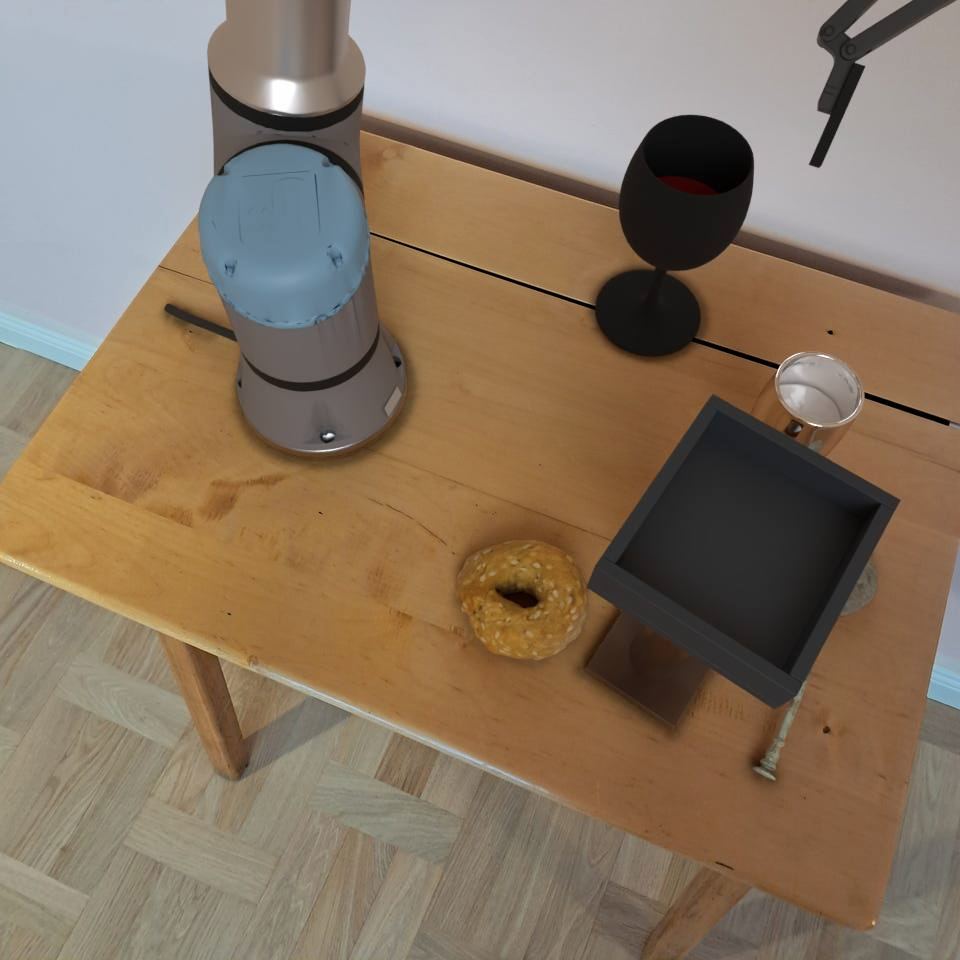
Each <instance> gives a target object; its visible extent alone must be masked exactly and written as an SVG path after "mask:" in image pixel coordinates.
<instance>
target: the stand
mask: <svg viewBox="0 0 960 960" xmlns="http://www.w3.org/2000/svg"><path fill="white" fill-rule="evenodd" d="M710 669H711V668H710V667H708V666H706V665H705V664H703V663H702V662H700V661H699V660H697V659H696V658H694V657H693V656H691V655H690V654H688V653H686V652H685V651H683V650H682V649H680V648H679V647H677V646H676V645H674V644H673V643H671V642H669V641H668V640H666V639H665V638H663V637H662V636H660V635H659V634H657V633H656V632H654V631H653V630H651V629H649V628H648V627H646V626H645V625H643V624H642V623H640V622H639V621H637V620H636V619H634V618H633V617H631V616H629V615H628V614H626V613H625V612H623V611H622V610H621V612H620V613H619V615H618V617H617V619H616V620H615V621H614V623H613V624H612V626H611V627H610V629H609V631H608V632H607V633H606V635H605V637H604V639H603V640H602V642H601V643H600V644H599V646H598V647H597V649H596V650H595V652H594V654H593V655H592V657H591V658H590V660H589V661H588V662H587V664H586V666H585V668H584V669H583V672H584V673H585V674H587V675H588V676H590V677H591V678H593V679H594V680H596V681H598V682H599V683H600V684H601V685H603V686H605V687H606V688H607V689H609V690H611V691H612V692H614V693H615V694H616V695H618V696H619V697H620V698H622V699H624V700H625V701H627V702H628V703H629V704H631V705H633V706H634V707H636V708H637V709H638V710H640V711H642V712H643V713H645V714H646V715H648V716H649V717H650V718H652V719H653V720H655V721H656V722H658V723H659V724H660V725H662V726H664V727H665V728H667V729H668V730H669V731H672V730H674V729H675V728H676V726H677V724H678V722H679V721H680V719H681V718H682V716H683V714H684V712H685V710H686V709H687V707H688V706H689V704H690V702H691V700H692V699H693V697H694V695H695V694H696V692H697V690H698V688H699V687H700V685H701V683H702V682H703V680H704V678H705V676H706V675H707V673H708V671H709V670H710Z"/></svg>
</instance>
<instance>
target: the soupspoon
mask: <svg viewBox="0 0 960 960" xmlns="http://www.w3.org/2000/svg"><path fill="white" fill-rule="evenodd" d="M878 585H879V574H878V571H877V568H876V565H875V564H874V562H873V561H872V559H871V558H870V559H869V561H868V563H867V565H866V566H865V568H864V570H863V572H862V574H861V576H860V578H859V580H858V582H857V583H856V585H855V587H854V589H853V591H852V593H851V595H850V597H849V598H848V600H847V602H846V604H845V606H844V608H843V610H842V612H841V614H840V615H839V617H843V616H847V615H850V614H853V613H856V612H857V611H859V610H860V609H863V608H864V607H865V606H866V605H868V604H869V603H870V602H871V601H873V598H874V597H875V595H876V593H877V588H878ZM813 666H814V665H813ZM813 666H812V668H811V670H810V672H809V674H808V676H807V678H806V680H805V681H804V683H803V685H802V687H801V689H800V691H799V693H798V695H797V696H796V697H794V698H793V699H791V700H790V701H788V705H787V706H786V710H785V712H784V715H783V718H782V720H781V723H780V726H779V729H778V732H777V734H776V735H775V736H773V737H772V744H771V745H770V746H769V747H768V748H767V749H766V751H765V754H764V756H765V757H763V758H761V759H760V760H759V762H760V766H752V769H753V770H754V771H755V772H756V773H758V774H760V775H762V776H764V777H765V778H767V779H771V780H773V781H776V780H777V779H776V777H775V776H774V775H773V773H772V772H773V771H775V770H776V769H777V765H776V763H777V762H778V760H779V758H780V756H781V749H782V748H783V747H784V746H785V745H786V742H785V740H786V737H787V735H788V733H789V730H790V728H791V726H792V724H793V721H794V718H795V716H796V714H797V712H798V709H799V706H800V703H801V700H802V698H803V696H804V692H805V690H806V687H807V684H808V681H809V678H810V675H811V673H812V670H813Z"/></svg>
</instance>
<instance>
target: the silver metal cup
mask: <svg viewBox="0 0 960 960" xmlns="http://www.w3.org/2000/svg"><path fill="white" fill-rule="evenodd" d="M864 403H865V389H864V386H863V383H862V380H861V378H860V377H859V375H858V374H857V372H856V371H855V370H854V369H853V368H852V367H851V366H850V365H849V364H848V363H846V362H845V361H844V360H842V359H840V358H838V357H836V356H835V355H833V354H829V353H826V352H823V351H822V352H821V351H815V350H813V351H802V352H798V353H795V354H792V355H791V356H789V357H787V358H786V359H785V360H783V362H782V363H781V364H780V365H779V367H778V368H777V369H776V371H775V372H774V373H773V375H772V376H771V377H770V379H769V380H768V381H767V383H766V384H765V385H764V387H763V388H762V390H761V392H760V393H759V394H758V396H757V399H756V400H755V402H754V404H753V407H752V409H751V411H750V415H751V416H753V417H755V418H757V419H758V420H760V421H762V422H764V423H765V424H767V425H769V426H771V427H773V428H774V429H776V430H778V431H780V432H781V433H783V434H785V435H787V436H789V437H790V438H792V439H794V440H796V441H797V442H799V443H801V444H803V445H804V446H806V447H808V448H810V449H812V450H813V451H815V452H817V453H819V454H820V455H822V456H824V457H826V458H827V456H829V455H830V454H831V452H832V451H833V450H834V449H835V448H836V447H837V446H838V445H839V444H840V443H841V441H842V440H843V438H844V437H845V436H846V434H847V433H848V431H849V429H850V428H851V426H852V425H853V423H854V421H855V420H856V418H857V417H858V415H859V414H860V413H861V411H862V409H863V407H864Z"/></svg>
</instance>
